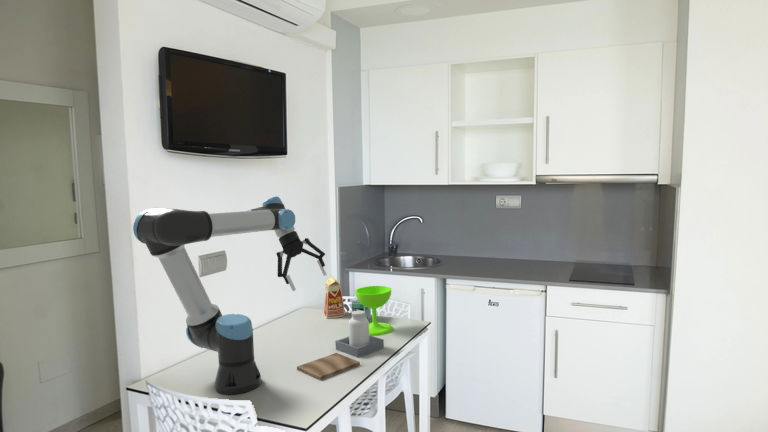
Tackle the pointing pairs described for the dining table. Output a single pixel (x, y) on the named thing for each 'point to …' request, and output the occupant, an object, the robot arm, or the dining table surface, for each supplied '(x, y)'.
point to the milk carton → (333, 300)
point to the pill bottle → (358, 329)
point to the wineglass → (375, 306)
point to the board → (328, 366)
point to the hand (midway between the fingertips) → (310, 283)
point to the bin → (360, 351)
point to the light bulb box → (360, 308)
